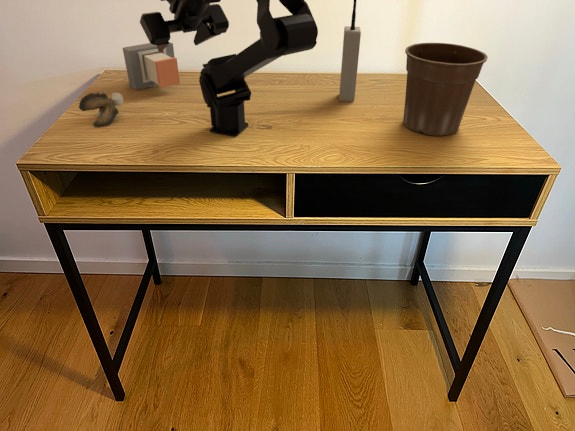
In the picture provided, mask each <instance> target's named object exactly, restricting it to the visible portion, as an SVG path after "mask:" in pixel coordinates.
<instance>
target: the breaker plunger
mask: <svg viewBox="0 0 575 431" xmlns="http://www.w3.org/2000/svg"><path fill="white" fill-rule="evenodd" d="M142 59H143V65H144V71H145V77H146V78H148V79H150V80H151V81H153V82H155V83H156V84H158V85H159V86H158V87H159V89H161V88H166V87H170V86H175V85H180V84H181V83H180V74H179V66H178V65H179V64H178V58H177V57H175V56H174V58H171V57H169V56H167V55H165V54H163V53H161V52H154V53H149V54H143V55H142Z"/></svg>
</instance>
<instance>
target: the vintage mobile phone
mask: <svg viewBox="0 0 575 431" xmlns="http://www.w3.org/2000/svg"><path fill="white" fill-rule="evenodd" d="M352 4H353V6H352V14H351V23H350V26H347V25H345V26H344V29H343V31H344V32H343V40H342V41H343V42H342V56H341V69H340V79H339V80H340V82H339V92H338V93H339V94H338V95H339V96H338V98H339V99H338V100H339V102H351V103H352V102H353V103H354V102H355V98H356V88H357V76H358V67H359V59H360V58H359V55H360V46H361V38H362V37H361V35H362V32H361V27H360V26H356V18H357V16H356V14H357V12H356V9H357V0H353V3H352Z"/></svg>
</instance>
